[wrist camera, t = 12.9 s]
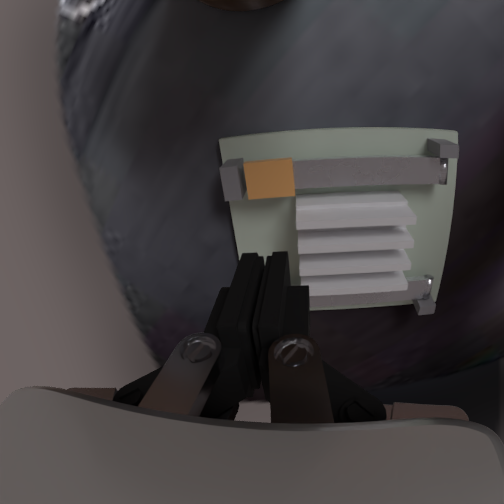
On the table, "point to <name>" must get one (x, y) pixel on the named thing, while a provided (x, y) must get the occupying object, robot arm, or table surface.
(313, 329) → the table surface
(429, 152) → the cooler board
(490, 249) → the table surface
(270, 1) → the plant pot
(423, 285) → the strap
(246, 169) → the strap
